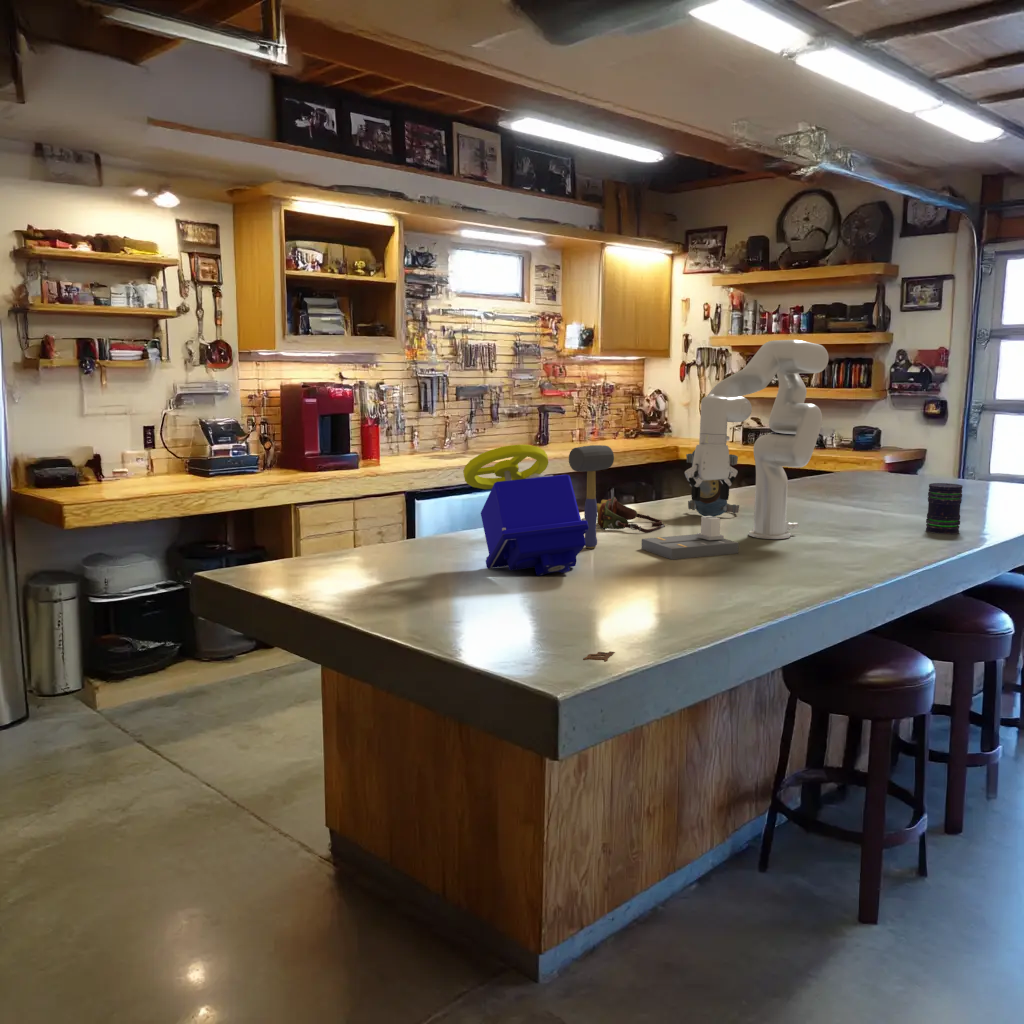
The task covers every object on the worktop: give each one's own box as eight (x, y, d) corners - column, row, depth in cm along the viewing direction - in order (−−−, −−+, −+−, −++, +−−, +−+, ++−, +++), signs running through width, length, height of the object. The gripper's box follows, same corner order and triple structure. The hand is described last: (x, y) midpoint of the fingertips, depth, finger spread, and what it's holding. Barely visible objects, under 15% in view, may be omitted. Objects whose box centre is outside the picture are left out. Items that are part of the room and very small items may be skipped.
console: (705, 543, 267) (705, 533, 267) (738, 553, 253) (738, 542, 252) (641, 548, 259) (641, 538, 259) (671, 559, 244) (671, 548, 244)
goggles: (670, 533, 283) (670, 502, 282) (596, 534, 284) (596, 503, 283) (659, 523, 308) (659, 494, 306) (591, 524, 308) (591, 495, 307)
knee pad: (676, 516, 317) (678, 445, 313) (699, 509, 333) (701, 442, 329) (725, 520, 307) (728, 448, 303) (746, 513, 323) (749, 444, 319)
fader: (711, 535, 262) (712, 515, 261) (723, 539, 256) (724, 518, 255) (696, 536, 260) (697, 516, 259) (708, 540, 254) (709, 519, 253)
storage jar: (955, 535, 279) (959, 487, 277) (922, 532, 285) (925, 485, 283) (962, 530, 287) (965, 484, 285) (929, 527, 293) (932, 482, 290)
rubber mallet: (582, 552, 254) (583, 447, 249) (565, 548, 260) (566, 445, 255) (614, 547, 261) (616, 445, 257) (597, 543, 267) (598, 443, 263)
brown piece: (616, 626, 182) (617, 623, 182) (638, 629, 181) (639, 626, 181) (581, 661, 160) (581, 658, 160) (605, 664, 159) (605, 661, 159)
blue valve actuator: (601, 549, 215) (573, 438, 225) (494, 563, 208) (470, 448, 218) (572, 582, 238) (548, 480, 248) (475, 596, 231) (454, 490, 241)
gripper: (730, 439, 260) (727, 497, 263) (679, 439, 254) (677, 499, 256) (746, 440, 253) (743, 500, 256) (694, 441, 247) (691, 502, 249)
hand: (710, 499), depth 256 cm, fingers open, 9 cm apart
